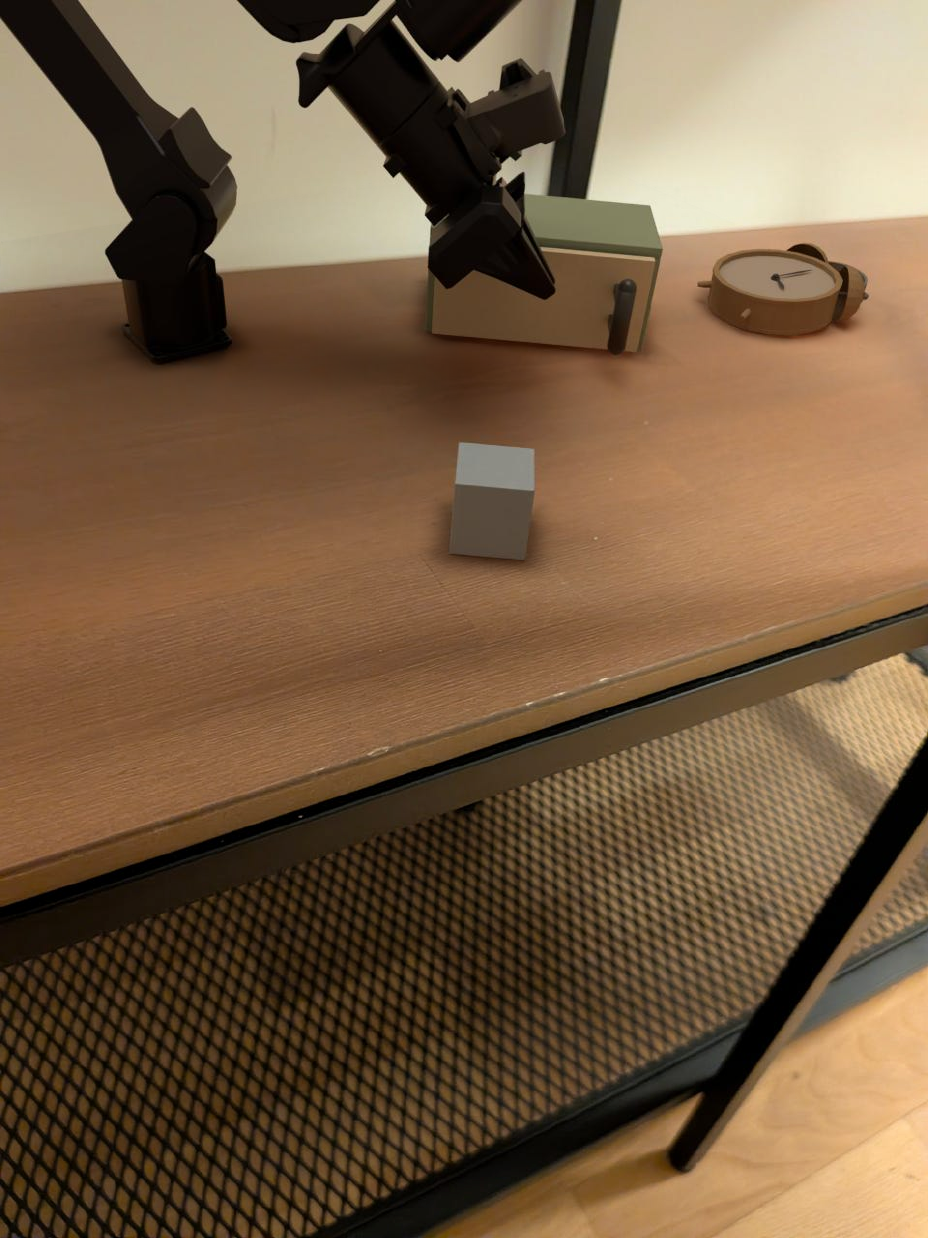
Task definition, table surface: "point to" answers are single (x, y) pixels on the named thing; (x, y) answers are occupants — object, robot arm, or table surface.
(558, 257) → the door
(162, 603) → the table surface
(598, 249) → the cabinet
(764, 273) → the alarm clock
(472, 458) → the block
